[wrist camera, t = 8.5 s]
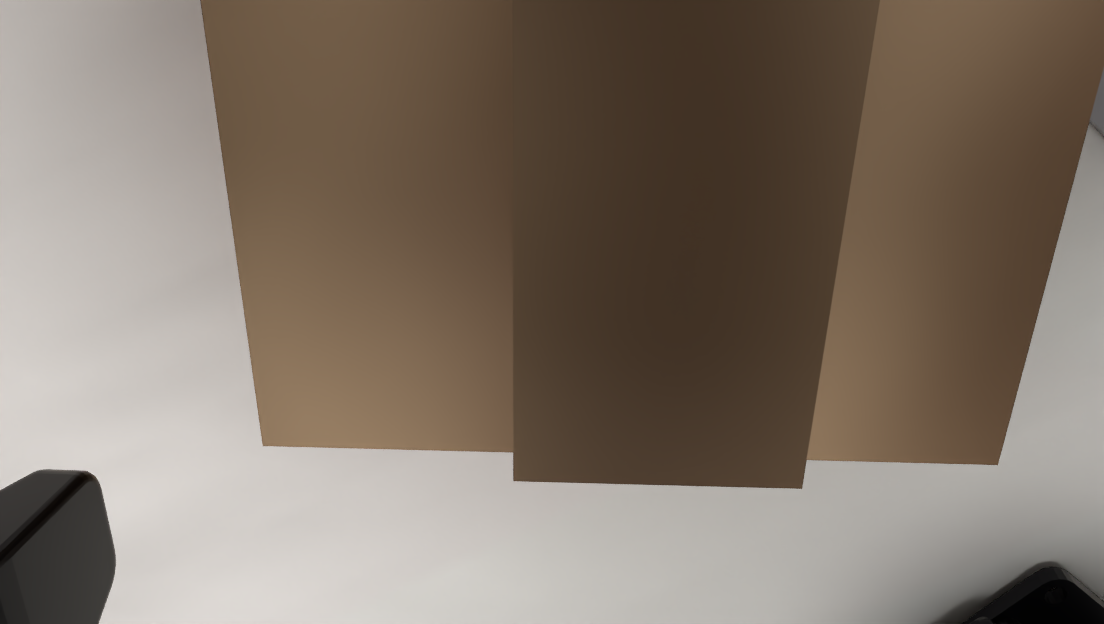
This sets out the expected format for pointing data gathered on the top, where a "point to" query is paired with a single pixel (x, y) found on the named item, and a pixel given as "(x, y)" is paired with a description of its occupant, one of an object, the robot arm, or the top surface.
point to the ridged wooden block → (648, 225)
